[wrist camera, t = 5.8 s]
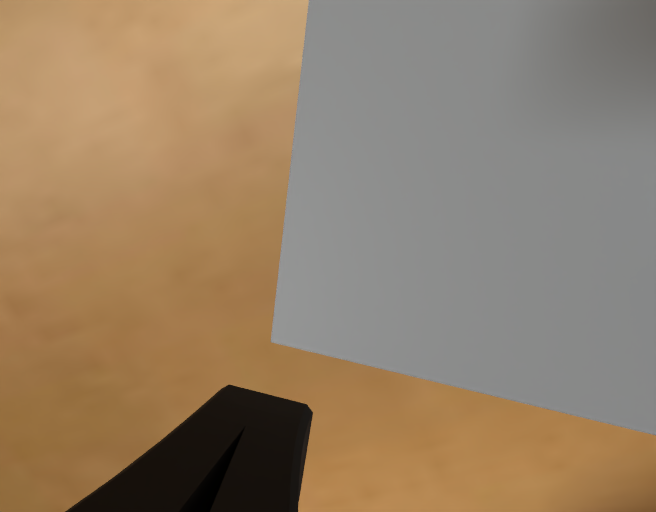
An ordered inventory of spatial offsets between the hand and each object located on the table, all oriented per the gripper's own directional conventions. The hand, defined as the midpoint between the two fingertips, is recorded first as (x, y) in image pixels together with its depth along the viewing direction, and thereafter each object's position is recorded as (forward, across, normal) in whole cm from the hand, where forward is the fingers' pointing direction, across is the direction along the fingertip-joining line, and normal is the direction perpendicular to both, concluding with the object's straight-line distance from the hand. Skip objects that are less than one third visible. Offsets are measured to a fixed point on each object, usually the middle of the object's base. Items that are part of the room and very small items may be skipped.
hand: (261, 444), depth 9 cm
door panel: (+9, -5, -3) cm, 11 cm away
